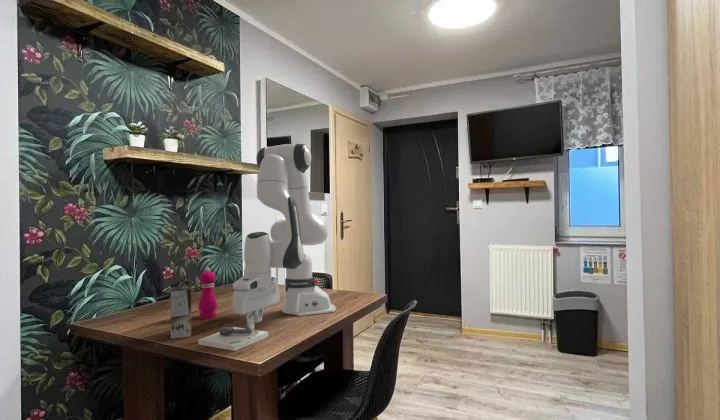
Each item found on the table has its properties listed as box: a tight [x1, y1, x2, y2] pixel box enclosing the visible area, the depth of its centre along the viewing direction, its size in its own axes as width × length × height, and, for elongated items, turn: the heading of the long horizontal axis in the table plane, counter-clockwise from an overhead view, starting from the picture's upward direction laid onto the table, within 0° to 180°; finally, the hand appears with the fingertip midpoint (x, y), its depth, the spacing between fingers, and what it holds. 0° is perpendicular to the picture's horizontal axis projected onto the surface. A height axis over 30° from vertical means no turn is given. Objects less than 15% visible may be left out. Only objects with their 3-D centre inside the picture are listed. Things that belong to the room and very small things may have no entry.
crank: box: [218, 312, 255, 335], centre depth 128 cm, size 11×4×6 cm, turn 90°
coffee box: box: [170, 285, 192, 340], centre depth 134 cm, size 9×6×16 cm
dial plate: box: [197, 326, 269, 352], centre depth 126 cm, size 16×15×2 cm
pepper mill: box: [197, 267, 218, 320], centre depth 158 cm, size 7×7×20 cm
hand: (258, 321), depth 130 cm, fingers closed
